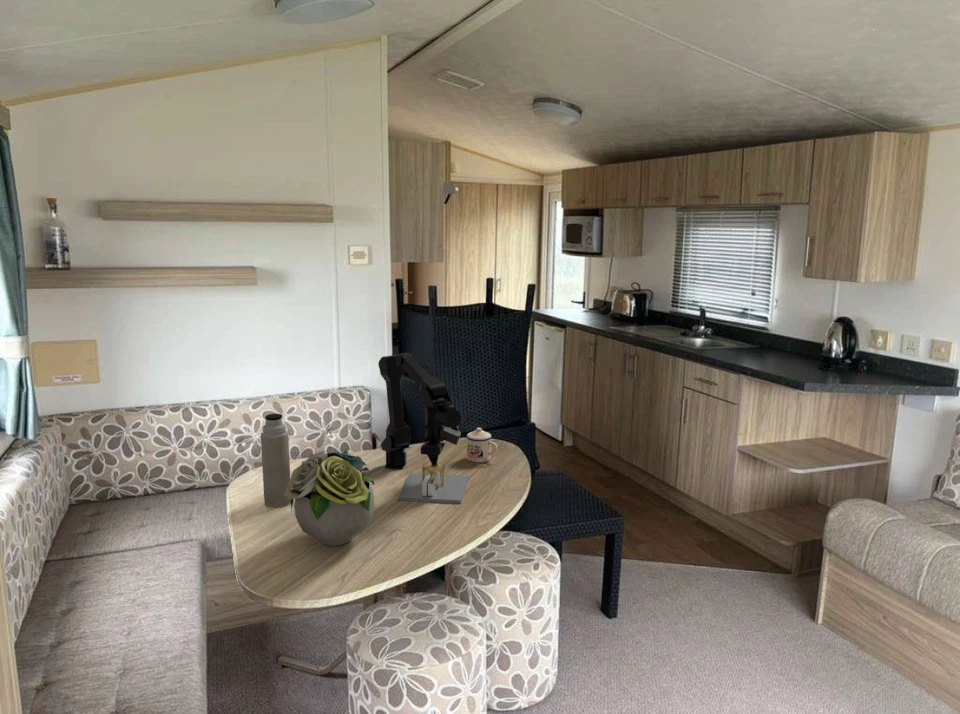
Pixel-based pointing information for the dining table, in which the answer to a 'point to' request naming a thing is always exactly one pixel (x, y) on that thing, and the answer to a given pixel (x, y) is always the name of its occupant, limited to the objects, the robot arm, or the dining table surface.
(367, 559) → the dining table surface
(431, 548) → the dining table surface
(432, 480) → the tong arm
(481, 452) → the teacup with lid
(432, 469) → the lock collar
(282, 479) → the thermos bottle
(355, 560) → the dining table surface
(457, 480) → the tongs base
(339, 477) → the flower arrangement
